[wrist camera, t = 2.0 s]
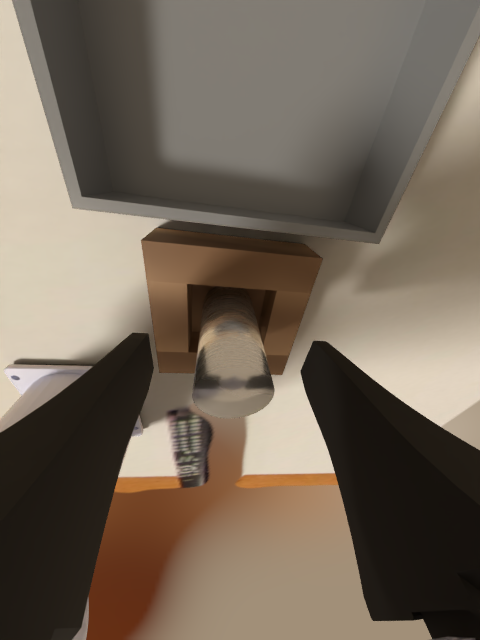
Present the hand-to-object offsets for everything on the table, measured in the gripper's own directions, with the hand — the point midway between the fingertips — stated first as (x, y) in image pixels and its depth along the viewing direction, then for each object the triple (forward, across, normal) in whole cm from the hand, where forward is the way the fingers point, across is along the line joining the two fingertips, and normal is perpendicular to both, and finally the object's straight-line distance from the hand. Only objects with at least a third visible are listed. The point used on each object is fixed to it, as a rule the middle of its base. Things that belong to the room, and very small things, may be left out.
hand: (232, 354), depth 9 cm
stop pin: (+4, 0, 0) cm, 4 cm away
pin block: (+5, 0, 0) cm, 5 cm away
